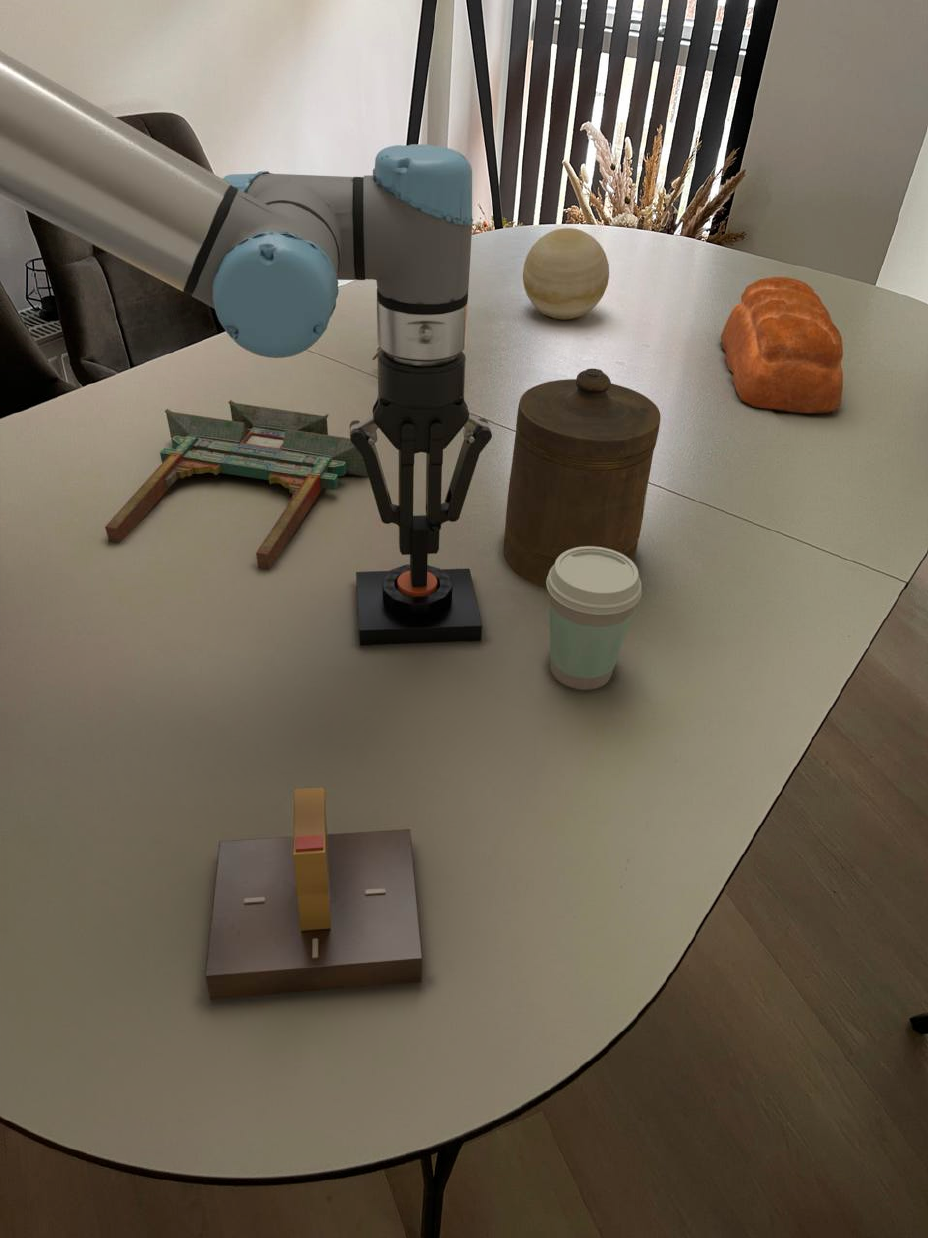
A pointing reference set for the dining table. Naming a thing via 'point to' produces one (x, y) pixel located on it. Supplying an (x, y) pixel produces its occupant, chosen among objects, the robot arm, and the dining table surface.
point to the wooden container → (578, 471)
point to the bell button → (421, 591)
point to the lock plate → (314, 959)
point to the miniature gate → (249, 463)
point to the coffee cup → (589, 613)
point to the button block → (417, 609)
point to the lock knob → (311, 858)
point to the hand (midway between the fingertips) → (418, 578)
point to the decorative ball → (566, 273)
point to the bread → (784, 348)
